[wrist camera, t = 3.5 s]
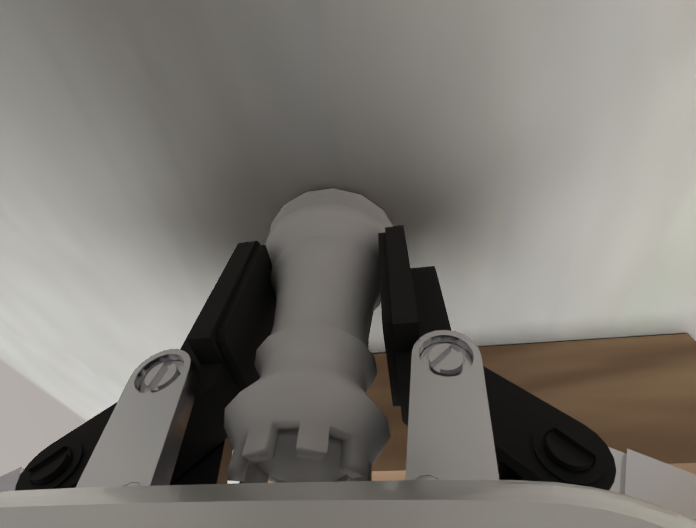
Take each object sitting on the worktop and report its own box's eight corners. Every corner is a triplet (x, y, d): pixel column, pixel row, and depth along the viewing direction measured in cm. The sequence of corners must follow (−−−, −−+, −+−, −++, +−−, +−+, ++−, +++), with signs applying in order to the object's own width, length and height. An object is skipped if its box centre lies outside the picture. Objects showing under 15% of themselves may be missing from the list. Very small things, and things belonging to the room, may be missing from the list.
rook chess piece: (374, 162, 11) (385, 385, 5) (411, 273, 13) (452, 523, 7) (247, 206, 12) (109, 437, 6) (302, 301, 15) (250, 541, 8)
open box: (280, 359, 17) (252, 474, 13) (688, 333, 15) (812, 460, 11) (345, 530, 28) (342, 618, 24) (579, 528, 26) (619, 625, 22)
